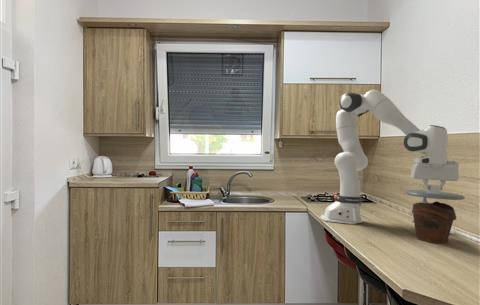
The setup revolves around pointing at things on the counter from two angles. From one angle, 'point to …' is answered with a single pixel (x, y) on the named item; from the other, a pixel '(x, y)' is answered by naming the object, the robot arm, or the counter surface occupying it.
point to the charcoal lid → (434, 193)
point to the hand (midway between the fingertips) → (433, 189)
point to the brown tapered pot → (433, 221)
